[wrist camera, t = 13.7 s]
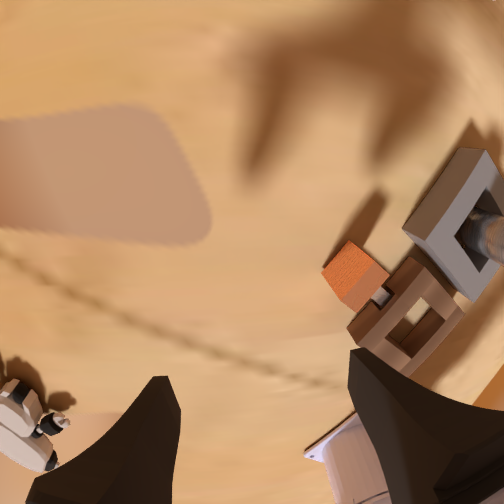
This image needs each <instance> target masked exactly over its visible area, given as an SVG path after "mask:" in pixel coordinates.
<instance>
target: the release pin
mask: <svg viewBox="0 0 504 504" xmlns="http://www.w3.org/2000/svg"><path fill="white" fill-rule="evenodd" d="M321 274H322V275H323V276H324V278H325V279H326V281H327V282H328V284H329V285H330V286H331V288H332V289H333V291H334V292H335V293H336V295H337V296H338V298H339V299H340V301H342V302H343V303H344V304H346V305H347V306H348V307H349V308H351V309H352V310H353V311H355V312H356V313H358V311H359V310H360V309H361V308H362V307H363V306H364V305H365V304H366V302H367V301H368V300H369V299H370V298H372V299H373V300H374V301H376V302H377V303H378V304H379V305H380V306H381V307H383V308H384V307H385V305H386V304H387V303H388V302H389V301H390V300H391V299H392V297H393V296H391V295H390V294H389V293H388V292H387V291H386V290H385V289H384V288H382V287H381V285H382V284H383V283H384V282H385V280H386V279H387V278H388V277H389V276H390V275H389V274H388V273H387V272H386V271H385V270H384V269H383V268H382V267H381V266H380V265H378V264H377V263H376V262H375V261H374V260H373V259H372V258H370V257H369V256H368V255H367V254H366V253H364V252H363V251H362V250H361V249H359V248H358V247H357V246H356V245H354V244H353V243H352V242H351V241H349V240H348V242H347V243H346V244H345V245H344V246H343V248H342V249H341V250H340V251H339V252H338V254H337V255H336V256H335V257H334V258H333V260H332V261H331V262H330V263H329V264H328V265H327V267H326V268H325V269H324V270H323V271H322V273H321Z"/></svg>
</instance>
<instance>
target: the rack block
mask: <svg viewBox="0 0 504 504" xmlns="http://www.w3.org/2000/svg"><path fill="white" fill-rule="evenodd" d="M475 203H476V204H477V205H478V207H479V208H480V209H483V210H486V211H489V212H492V213H495V214H497V215H500V216H503V217H504V180H503V178H502V176H501V175H500V173H499V171H498V169H497V168H496V166H495V164H494V162H493V161H492V159H491V157H490V156H489V154H488V153H487V151H486V149H475V148H463V147H459V148H458V150H457V151H456V153H455V154H454V156H453V158H452V159H451V161H450V162H449V164H448V165H447V167H446V168H445V170H444V171H443V172H442V174H441V175H440V177H439V178H438V180H437V181H436V183H435V184H434V185H433V187H432V188H431V190H430V191H429V193H428V194H427V195H426V197H425V198H424V200H423V201H422V202H421V204H420V205H419V206H418V208H417V209H416V210H415V212H414V213H413V214H412V216H411V217H410V218H409V220H408V221H407V222H406V224H405V225H404V226H403V228H402V229H403V231H404V232H405V233H406V234H407V235H408V236H409V237H410V238H411V239H412V240H413V241H414V242H415V244H416V245H417V246H418V247H419V248H420V249H421V250H422V251H423V253H424V254H425V255H426V256H427V257H428V258H429V259H430V261H431V262H432V263H433V264H434V265H435V266H436V268H437V269H438V270H439V271H440V272H441V274H442V275H443V276H444V277H445V278H446V280H447V281H448V282H449V283H450V284H451V286H452V287H453V288H454V289H456V290H457V291H458V292H460V293H461V294H462V295H464V296H465V297H467V298H468V299H469V300H471V301H472V302H473V303H474V302H475V301H476V300H477V298H478V297H479V296H480V294H481V293H482V292H483V290H484V289H485V287H486V286H487V285H488V283H489V282H490V280H491V279H492V277H493V276H494V275H495V273H496V272H497V270H498V269H499V267H500V264H498V263H497V262H495V261H493V260H491V259H489V258H487V257H486V256H484V255H482V254H480V253H478V252H476V251H474V250H472V249H470V248H468V247H467V246H466V247H465V248H464V250H463V249H462V247H461V246H460V244H459V243H458V242H457V240H456V239H455V238H454V235H455V233H456V232H457V231H458V229H459V228H460V226H461V225H462V223H463V222H464V220H465V219H466V217H467V216H468V214H469V213H470V211H471V210H472V208H473V207H474V205H475Z"/></svg>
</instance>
